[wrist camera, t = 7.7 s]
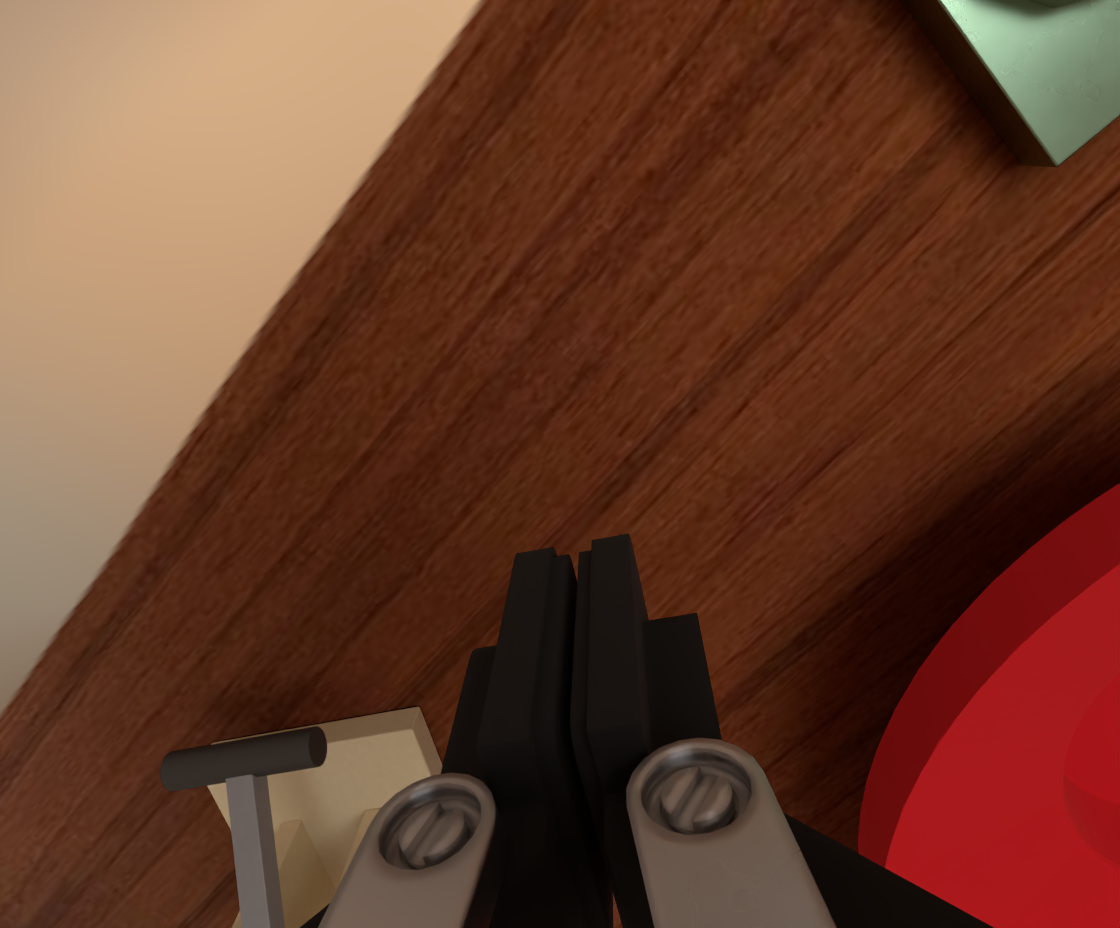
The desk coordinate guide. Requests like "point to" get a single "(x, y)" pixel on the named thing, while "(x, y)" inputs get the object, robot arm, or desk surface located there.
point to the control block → (1032, 67)
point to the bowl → (1015, 743)
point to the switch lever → (249, 805)
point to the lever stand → (338, 802)
